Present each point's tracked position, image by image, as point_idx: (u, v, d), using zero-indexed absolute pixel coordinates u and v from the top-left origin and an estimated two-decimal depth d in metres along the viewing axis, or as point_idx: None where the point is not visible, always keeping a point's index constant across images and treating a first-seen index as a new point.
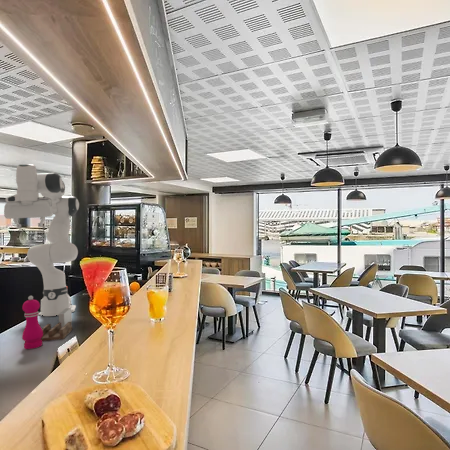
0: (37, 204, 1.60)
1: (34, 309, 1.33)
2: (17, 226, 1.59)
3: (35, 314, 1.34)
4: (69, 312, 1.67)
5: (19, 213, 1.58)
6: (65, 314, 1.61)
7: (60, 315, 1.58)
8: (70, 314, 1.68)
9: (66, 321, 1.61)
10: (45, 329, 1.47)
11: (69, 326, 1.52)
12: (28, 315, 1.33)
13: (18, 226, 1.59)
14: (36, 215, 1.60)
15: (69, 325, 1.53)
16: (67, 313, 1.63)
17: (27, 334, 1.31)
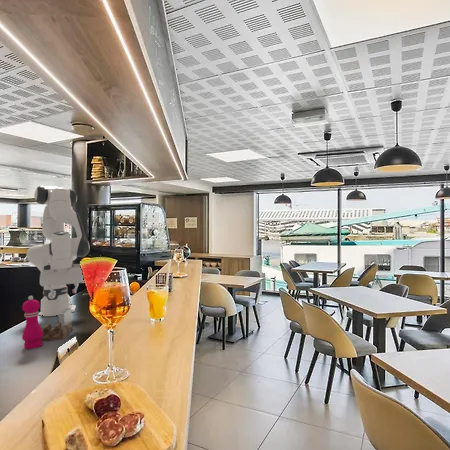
0: (71, 271, 1.63)
1: (34, 309, 1.33)
2: (52, 293, 1.62)
3: (35, 314, 1.34)
4: (69, 312, 1.67)
5: (54, 281, 1.62)
6: (65, 314, 1.61)
7: (60, 315, 1.58)
8: (70, 314, 1.68)
9: (66, 321, 1.61)
10: (45, 329, 1.47)
11: (69, 326, 1.52)
12: (28, 315, 1.33)
13: (53, 293, 1.62)
14: (70, 282, 1.63)
15: (69, 325, 1.53)
16: (67, 313, 1.63)
17: (27, 334, 1.31)
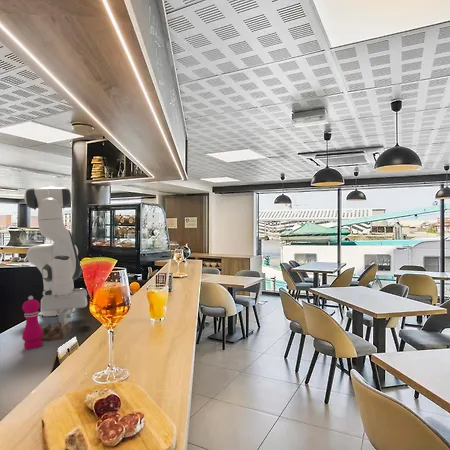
0: (73, 296, 1.63)
1: (34, 309, 1.33)
2: None
3: (35, 314, 1.34)
4: (69, 312, 1.67)
5: (55, 306, 1.62)
6: (65, 314, 1.61)
7: (60, 315, 1.58)
8: None
9: (66, 321, 1.61)
10: (45, 329, 1.47)
11: (69, 326, 1.52)
12: (28, 315, 1.33)
13: None
14: (72, 307, 1.63)
15: (69, 325, 1.53)
16: (67, 313, 1.63)
17: (27, 334, 1.31)
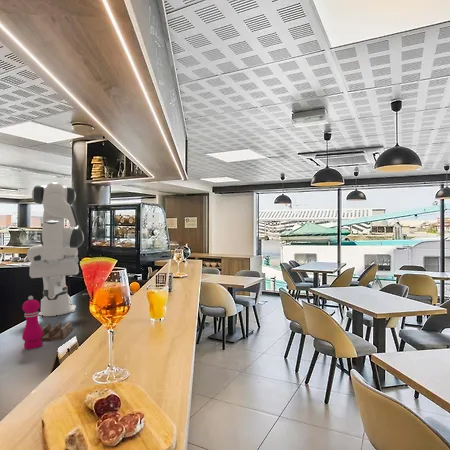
0: (63, 262, 1.54)
1: (34, 309, 1.33)
2: None
3: (35, 314, 1.34)
4: (59, 280, 1.57)
5: (45, 273, 1.52)
6: (55, 280, 1.51)
7: (49, 281, 1.49)
8: None
9: (56, 288, 1.52)
10: (45, 329, 1.47)
11: (69, 326, 1.52)
12: (28, 315, 1.33)
13: None
14: (62, 274, 1.54)
15: (69, 325, 1.53)
16: (57, 281, 1.54)
17: (27, 334, 1.31)
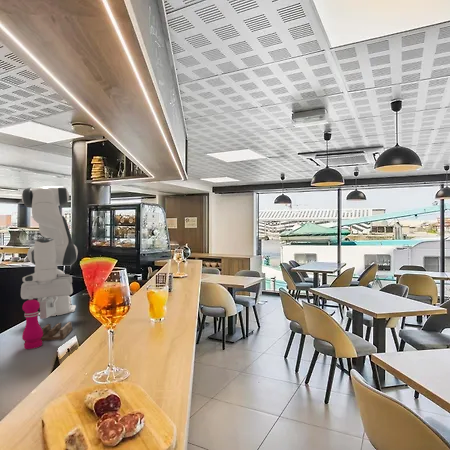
0: (56, 282, 1.47)
1: (34, 309, 1.33)
2: None
3: (35, 314, 1.34)
4: (52, 300, 1.51)
5: (37, 294, 1.46)
6: (47, 302, 1.44)
7: (41, 303, 1.42)
8: None
9: (48, 310, 1.45)
10: (45, 329, 1.47)
11: (69, 326, 1.52)
12: (28, 315, 1.33)
13: None
14: (55, 295, 1.47)
15: (69, 325, 1.53)
16: (50, 302, 1.47)
17: (27, 334, 1.31)
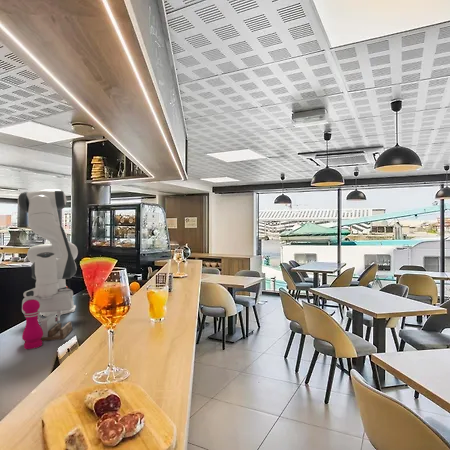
0: (57, 297, 1.47)
1: (34, 309, 1.33)
2: (39, 321, 1.47)
3: (35, 314, 1.34)
4: (54, 318, 1.51)
5: None
6: (48, 321, 1.44)
7: (43, 322, 1.42)
8: None
9: (50, 328, 1.45)
10: None
11: (69, 326, 1.52)
12: (28, 315, 1.33)
13: (40, 321, 1.47)
14: (56, 309, 1.47)
15: (69, 325, 1.53)
16: (51, 320, 1.47)
17: (27, 334, 1.31)
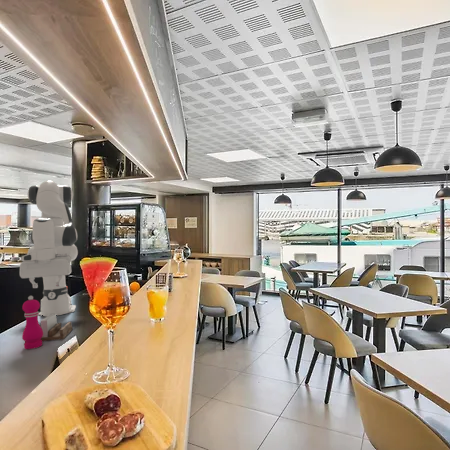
0: (55, 262, 1.48)
1: (34, 309, 1.33)
2: (33, 286, 1.47)
3: (35, 314, 1.34)
4: (54, 318, 1.51)
5: (36, 273, 1.46)
6: (48, 321, 1.44)
7: (43, 322, 1.42)
8: (55, 320, 1.52)
9: (50, 328, 1.45)
10: None
11: (69, 326, 1.52)
12: (28, 315, 1.33)
13: (34, 286, 1.47)
14: (54, 274, 1.48)
15: (69, 325, 1.53)
16: (51, 320, 1.47)
17: (27, 334, 1.31)
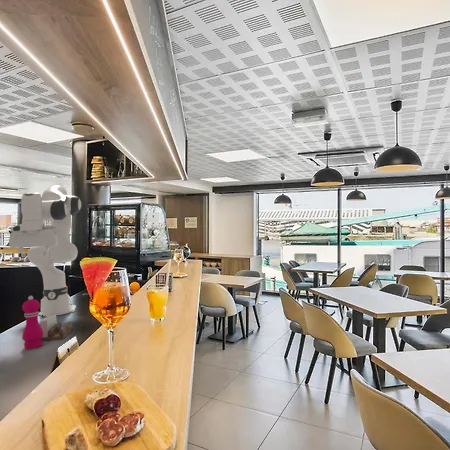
0: (42, 233, 1.59)
1: (34, 309, 1.33)
2: (22, 255, 1.58)
3: (35, 314, 1.34)
4: (54, 318, 1.51)
5: (24, 243, 1.57)
6: (48, 321, 1.44)
7: (43, 322, 1.42)
8: (55, 320, 1.52)
9: (50, 328, 1.45)
10: None
11: (69, 326, 1.52)
12: (28, 315, 1.33)
13: (23, 255, 1.58)
14: (41, 244, 1.58)
15: (69, 325, 1.53)
16: (51, 320, 1.47)
17: (27, 334, 1.31)
